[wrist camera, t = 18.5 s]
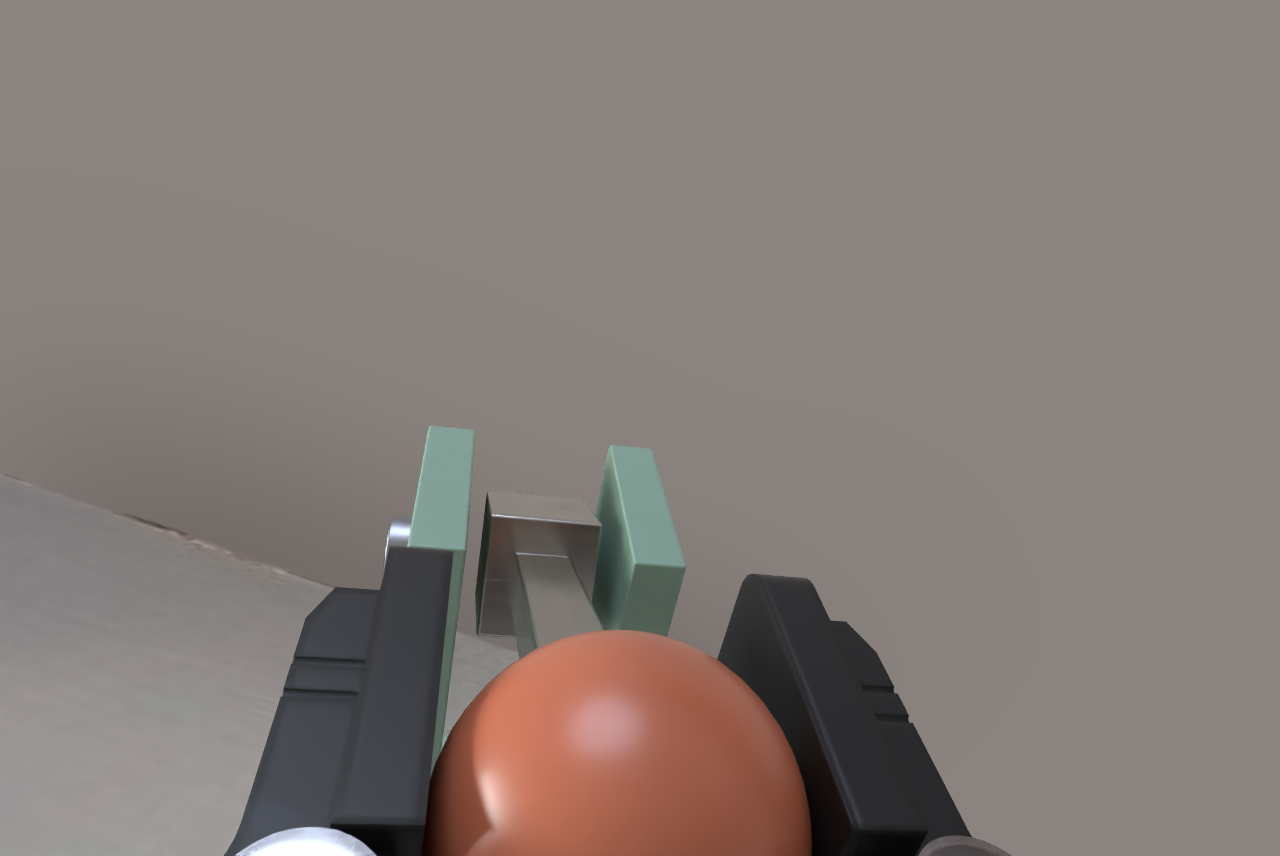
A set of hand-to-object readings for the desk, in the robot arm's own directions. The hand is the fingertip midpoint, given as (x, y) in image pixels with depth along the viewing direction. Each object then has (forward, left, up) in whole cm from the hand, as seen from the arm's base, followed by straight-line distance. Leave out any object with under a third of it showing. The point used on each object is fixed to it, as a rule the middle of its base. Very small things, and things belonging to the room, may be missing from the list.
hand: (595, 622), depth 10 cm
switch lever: (+1, -1, -4) cm, 4 cm away
